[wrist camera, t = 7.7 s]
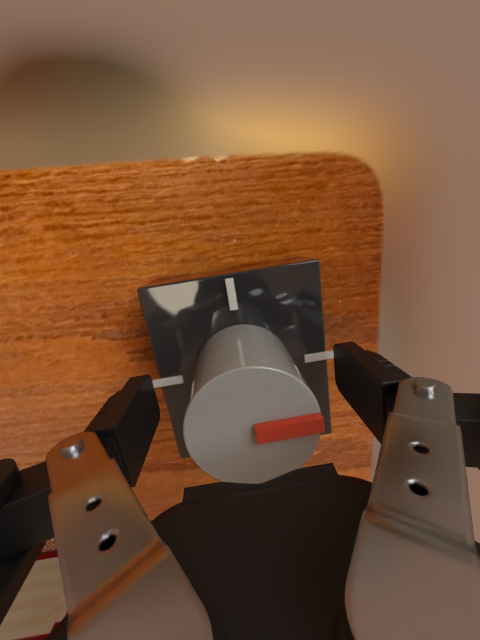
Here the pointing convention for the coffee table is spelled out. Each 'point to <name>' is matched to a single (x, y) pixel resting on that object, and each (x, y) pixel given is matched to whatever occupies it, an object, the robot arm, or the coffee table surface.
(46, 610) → the book
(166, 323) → the panel
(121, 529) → the robot arm
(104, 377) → the coffee table surface
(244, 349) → the burner knob
